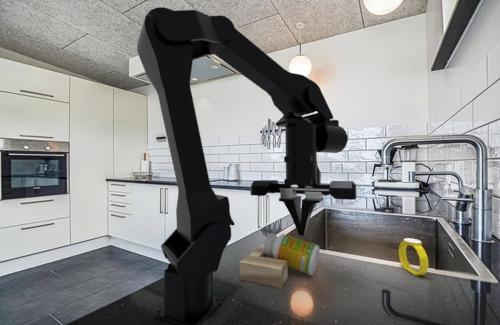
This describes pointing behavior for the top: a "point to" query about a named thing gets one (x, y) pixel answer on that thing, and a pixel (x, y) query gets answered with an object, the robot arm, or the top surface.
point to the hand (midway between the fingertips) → (302, 235)
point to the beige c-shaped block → (263, 269)
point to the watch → (421, 254)
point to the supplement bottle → (293, 252)
